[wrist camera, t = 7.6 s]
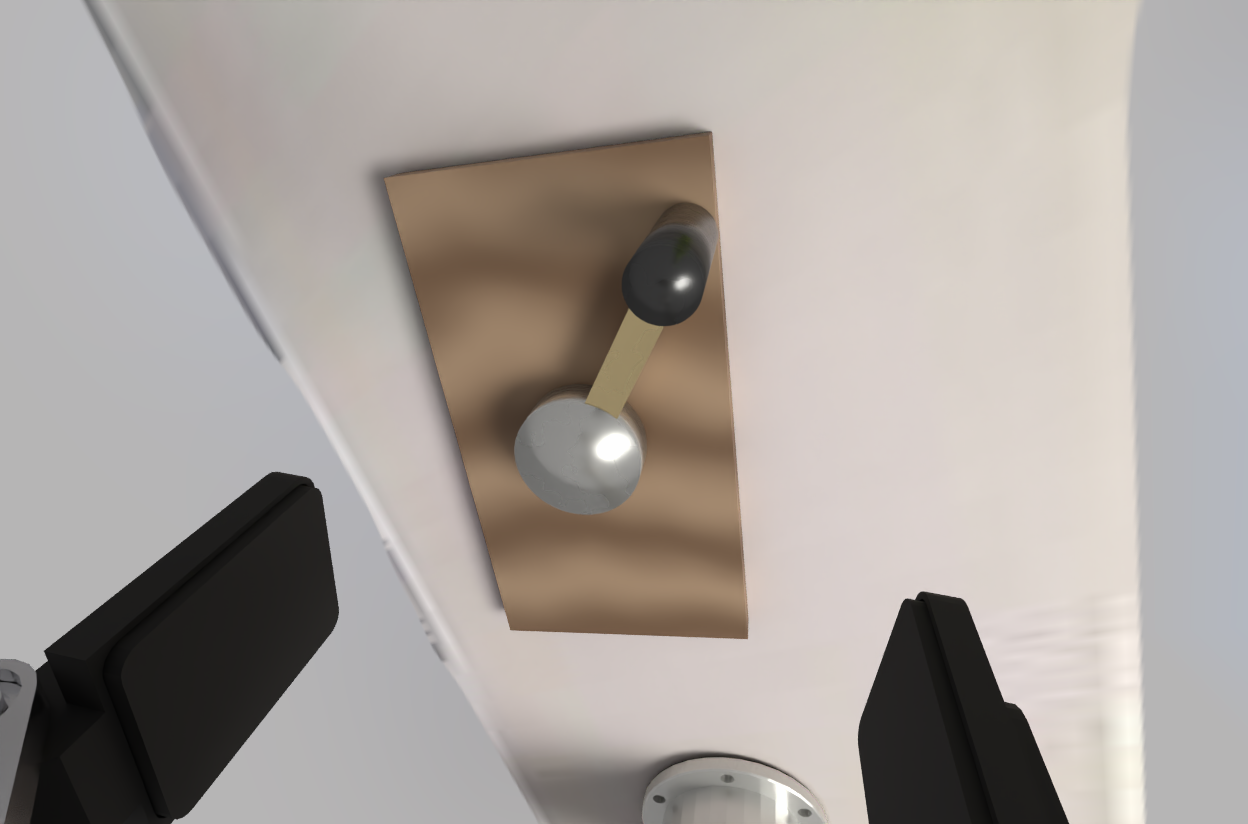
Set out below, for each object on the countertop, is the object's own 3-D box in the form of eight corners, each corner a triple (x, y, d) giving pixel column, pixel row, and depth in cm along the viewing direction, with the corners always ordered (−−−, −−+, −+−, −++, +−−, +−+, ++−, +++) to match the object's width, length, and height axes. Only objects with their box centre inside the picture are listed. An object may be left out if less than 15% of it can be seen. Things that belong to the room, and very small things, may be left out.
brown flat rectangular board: (748, 619, 38) (747, 642, 37) (518, 612, 42) (509, 633, 40) (712, 131, 27) (708, 136, 26) (400, 173, 30) (380, 179, 29)
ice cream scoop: (618, 509, 34) (584, 610, 28) (511, 459, 34) (454, 548, 28) (767, 239, 27) (768, 293, 21) (632, 172, 27) (591, 205, 20)
